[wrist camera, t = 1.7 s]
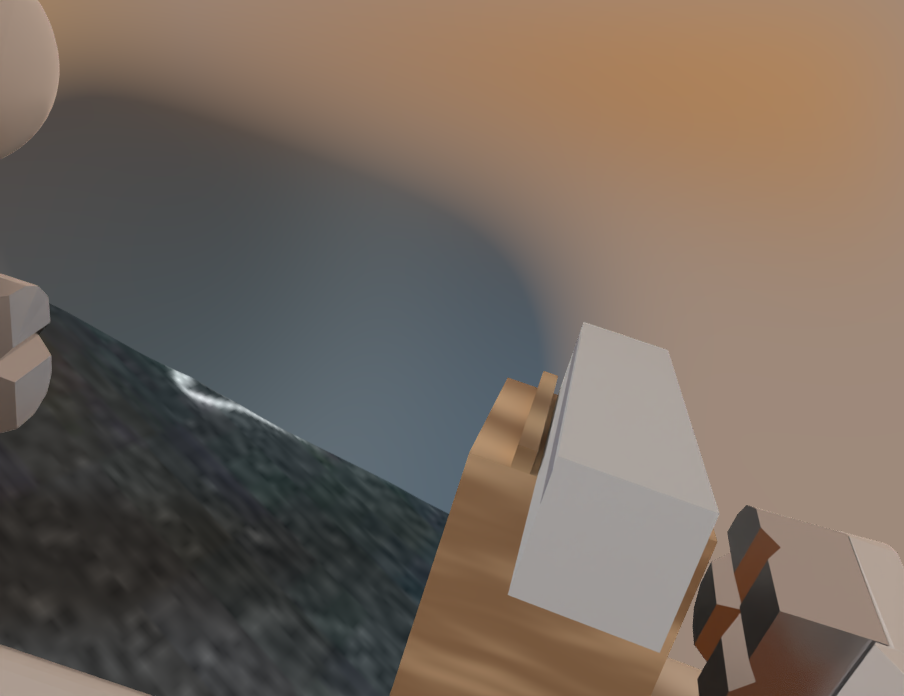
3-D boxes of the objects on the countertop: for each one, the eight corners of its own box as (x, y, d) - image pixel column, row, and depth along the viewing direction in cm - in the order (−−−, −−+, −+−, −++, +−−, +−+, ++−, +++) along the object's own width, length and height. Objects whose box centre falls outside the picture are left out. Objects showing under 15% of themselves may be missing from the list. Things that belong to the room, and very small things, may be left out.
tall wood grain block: (644, 1082, 36) (900, 581, 29) (311, 933, 38) (476, 429, 31) (636, 863, 48) (819, 465, 41) (381, 757, 50) (513, 360, 43)
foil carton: (660, 653, 22) (720, 513, 21) (507, 594, 22) (557, 456, 21) (637, 428, 41) (668, 349, 40) (555, 400, 41) (583, 321, 40)
